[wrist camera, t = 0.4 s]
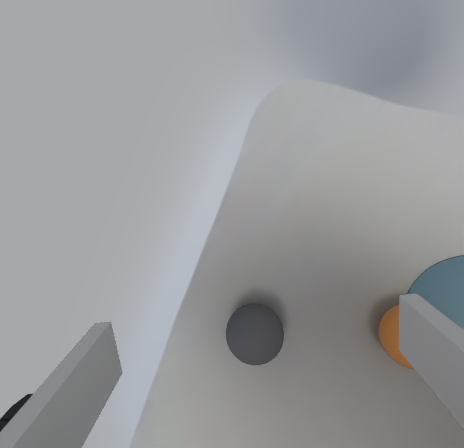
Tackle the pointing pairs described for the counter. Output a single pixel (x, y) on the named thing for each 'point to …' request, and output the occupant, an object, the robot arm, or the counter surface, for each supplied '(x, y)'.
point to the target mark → (444, 288)
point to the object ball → (392, 336)
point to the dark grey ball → (254, 334)
